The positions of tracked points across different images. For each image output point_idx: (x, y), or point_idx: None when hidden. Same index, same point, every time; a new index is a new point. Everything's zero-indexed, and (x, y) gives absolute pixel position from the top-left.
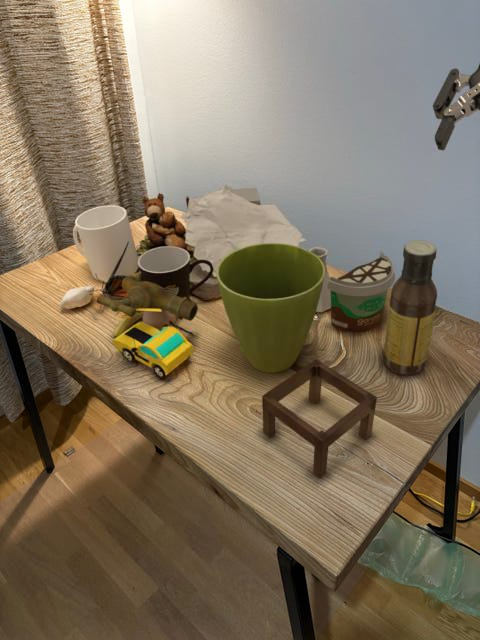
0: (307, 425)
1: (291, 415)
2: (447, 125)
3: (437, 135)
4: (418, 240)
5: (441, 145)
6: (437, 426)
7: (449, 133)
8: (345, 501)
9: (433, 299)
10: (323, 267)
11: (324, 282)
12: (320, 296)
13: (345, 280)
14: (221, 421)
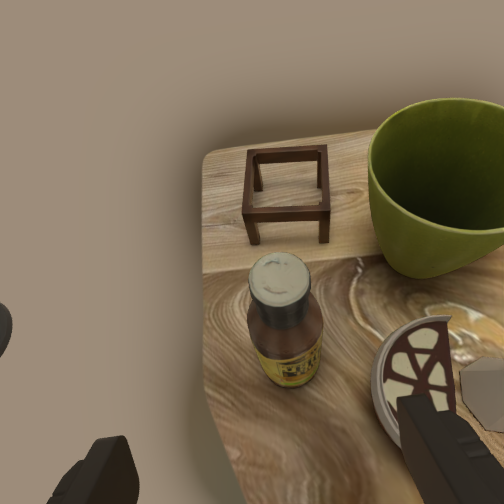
0: (268, 150)
1: (287, 148)
2: (448, 463)
3: (455, 425)
4: (297, 297)
5: (398, 405)
6: (206, 298)
7: (433, 498)
8: (227, 185)
9: (247, 316)
10: (407, 211)
11: (498, 380)
12: (480, 370)
13: (431, 338)
14: (364, 165)
